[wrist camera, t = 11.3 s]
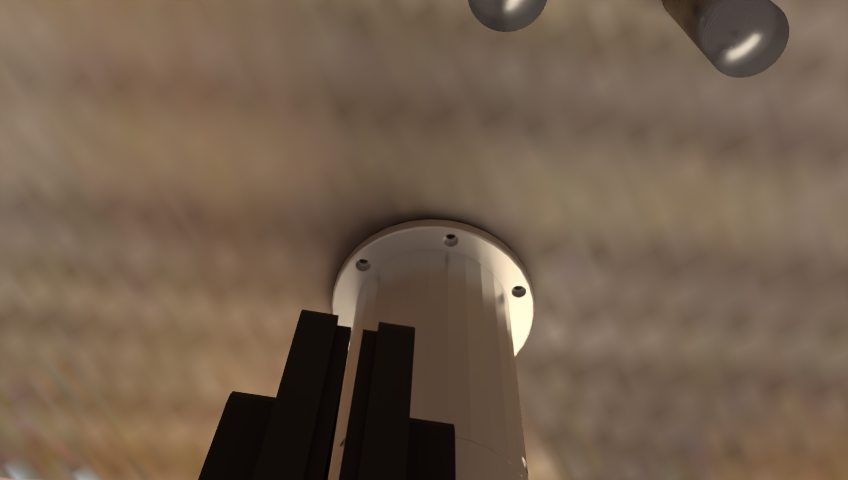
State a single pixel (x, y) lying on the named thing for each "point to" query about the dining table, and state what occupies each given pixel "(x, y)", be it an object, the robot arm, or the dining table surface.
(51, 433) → the dining table surface
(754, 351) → the dining table surface
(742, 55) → the posts
